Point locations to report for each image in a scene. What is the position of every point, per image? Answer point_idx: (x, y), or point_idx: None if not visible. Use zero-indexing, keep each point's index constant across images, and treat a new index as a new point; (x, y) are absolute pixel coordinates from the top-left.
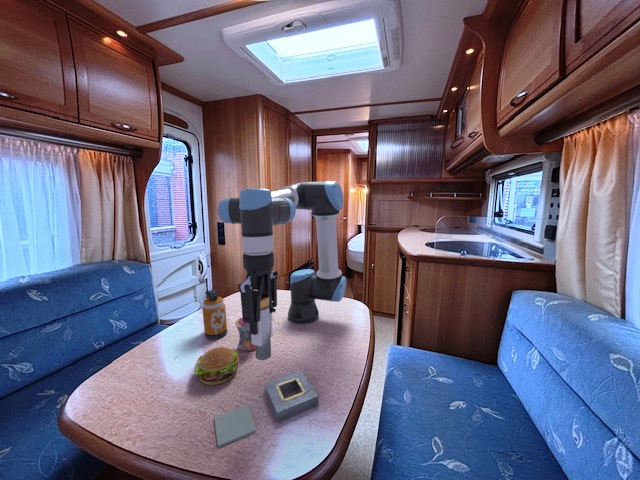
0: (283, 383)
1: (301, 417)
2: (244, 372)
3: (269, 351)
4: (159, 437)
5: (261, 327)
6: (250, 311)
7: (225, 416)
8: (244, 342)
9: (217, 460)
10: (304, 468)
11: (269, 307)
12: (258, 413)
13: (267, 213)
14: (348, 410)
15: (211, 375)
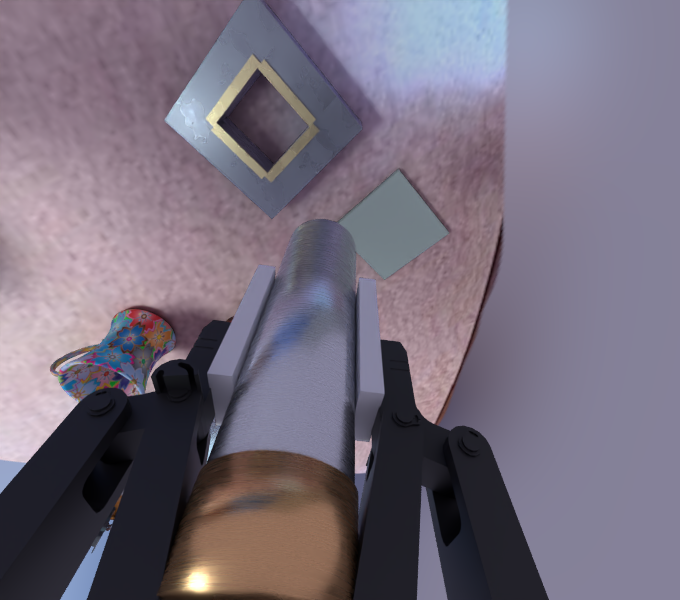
0: (250, 160)
1: (325, 48)
2: (238, 291)
3: (324, 232)
4: (437, 336)
5: (359, 348)
6: (529, 562)
7: (378, 259)
8: (158, 346)
9: (474, 215)
10: None
11: (195, 430)
12: (346, 190)
13: None
14: None
15: None
